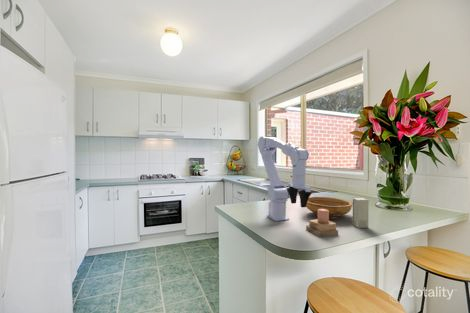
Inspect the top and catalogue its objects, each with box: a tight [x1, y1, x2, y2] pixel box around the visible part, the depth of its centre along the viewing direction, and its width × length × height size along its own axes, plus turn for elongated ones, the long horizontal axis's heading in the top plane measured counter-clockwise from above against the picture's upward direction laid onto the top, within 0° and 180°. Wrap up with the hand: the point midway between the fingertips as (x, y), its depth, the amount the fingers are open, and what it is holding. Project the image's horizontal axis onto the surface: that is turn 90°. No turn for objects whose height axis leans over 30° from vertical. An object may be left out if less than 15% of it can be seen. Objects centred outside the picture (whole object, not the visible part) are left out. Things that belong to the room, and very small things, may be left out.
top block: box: [308, 218, 337, 232], centre depth 94 cm, size 8×8×2 cm
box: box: [352, 197, 370, 229], centre depth 102 cm, size 5×4×13 cm
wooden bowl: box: [305, 196, 353, 220], centre depth 119 cm, size 30×24×8 cm
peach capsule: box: [317, 209, 330, 224], centre depth 94 cm, size 4×4×5 cm
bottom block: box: [305, 225, 339, 238], centre depth 94 cm, size 9×9×2 cm
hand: (298, 205), depth 100 cm, fingers open, 7 cm apart
